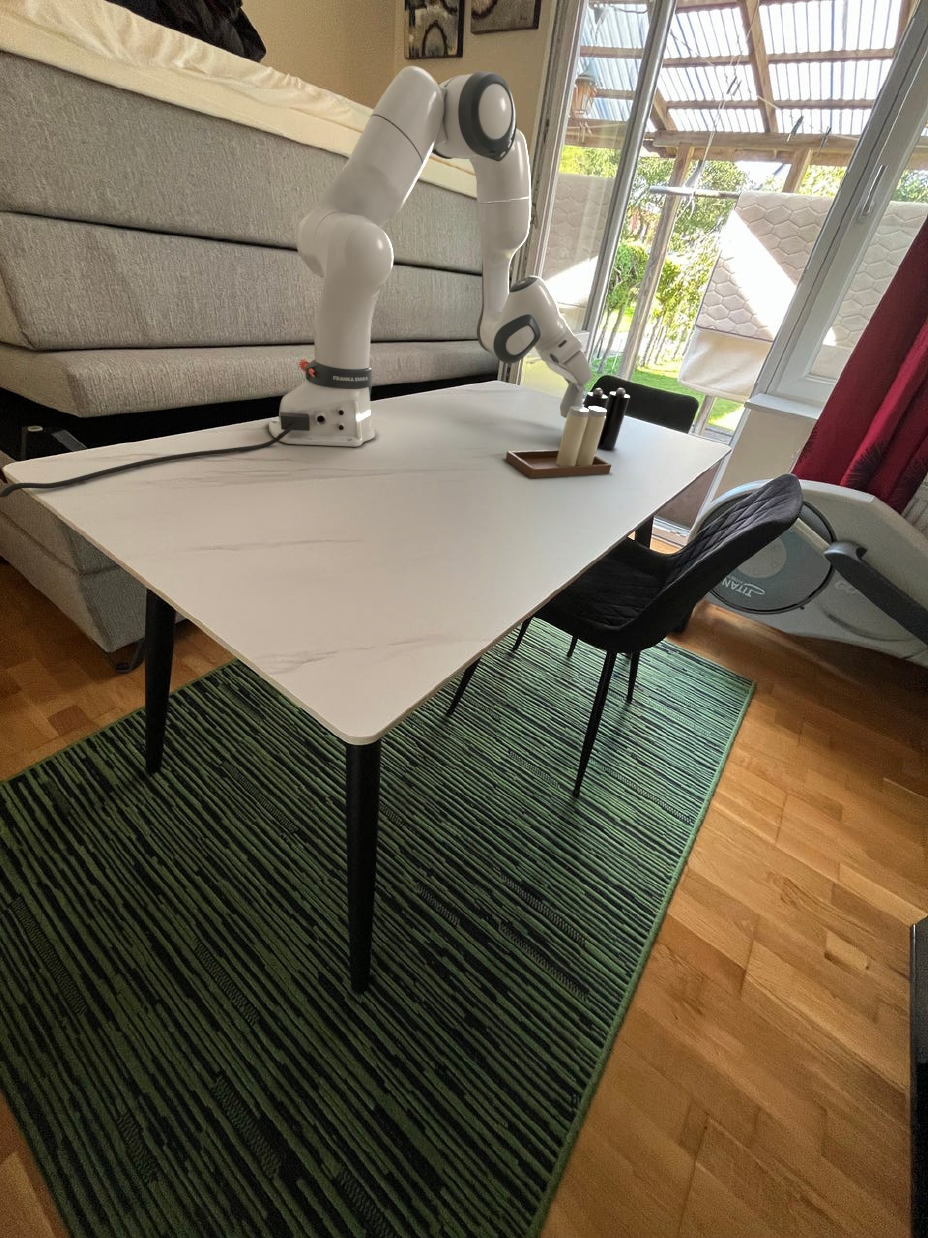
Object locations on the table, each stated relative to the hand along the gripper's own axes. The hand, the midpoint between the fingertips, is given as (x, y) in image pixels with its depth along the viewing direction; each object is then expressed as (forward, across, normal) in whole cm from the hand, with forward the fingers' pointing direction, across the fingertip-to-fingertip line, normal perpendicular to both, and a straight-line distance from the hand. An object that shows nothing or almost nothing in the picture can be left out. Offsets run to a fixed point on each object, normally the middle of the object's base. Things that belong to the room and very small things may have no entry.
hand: (578, 388), depth 135 cm
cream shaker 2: (+2, +26, -14) cm, 29 cm away
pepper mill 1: (+6, +14, -10) cm, 18 cm away
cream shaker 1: (-2, +27, -18) cm, 32 cm away
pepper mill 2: (+11, +12, -4) cm, 17 cm away
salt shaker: (+5, 0, -6) cm, 7 cm away
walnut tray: (-3, +27, -19) cm, 33 cm away
